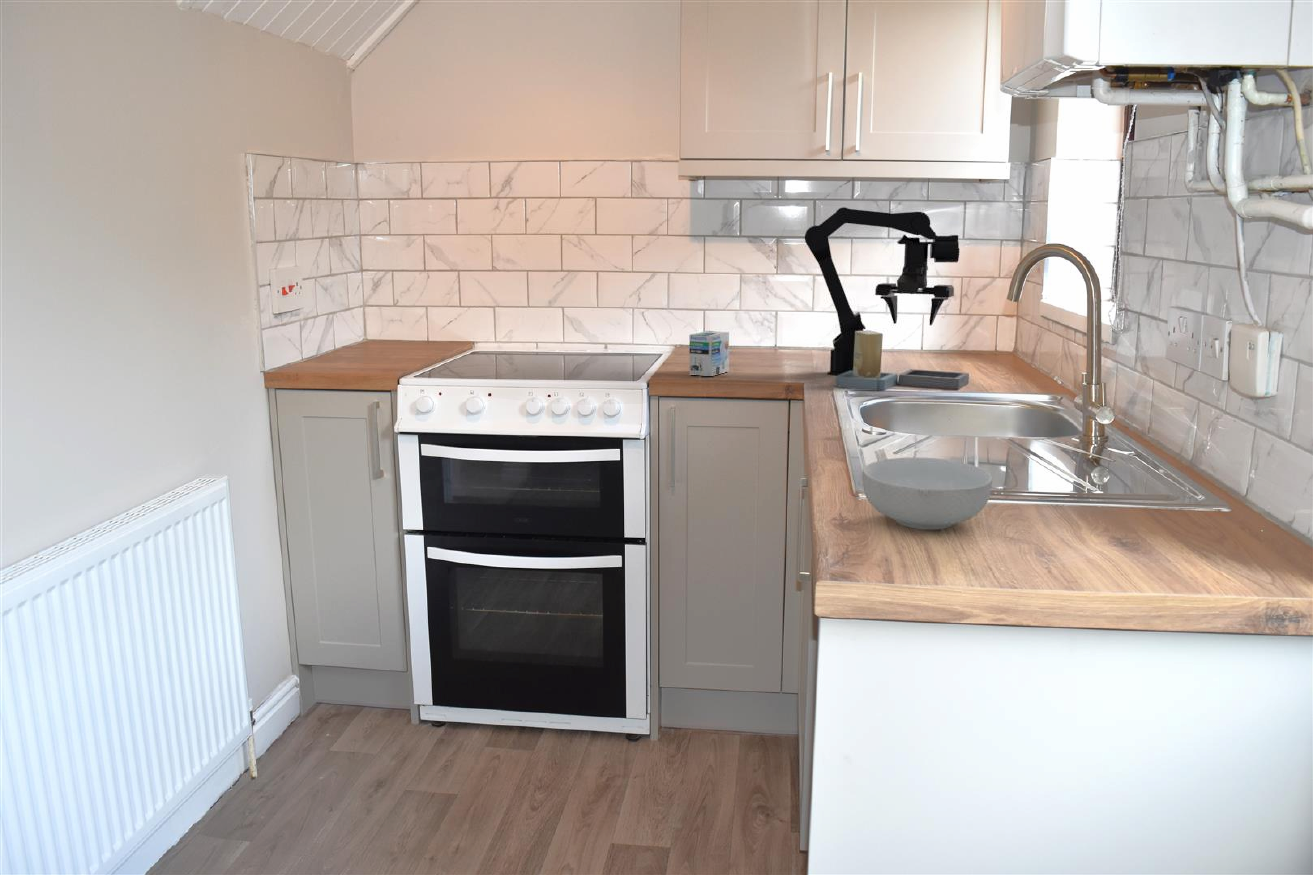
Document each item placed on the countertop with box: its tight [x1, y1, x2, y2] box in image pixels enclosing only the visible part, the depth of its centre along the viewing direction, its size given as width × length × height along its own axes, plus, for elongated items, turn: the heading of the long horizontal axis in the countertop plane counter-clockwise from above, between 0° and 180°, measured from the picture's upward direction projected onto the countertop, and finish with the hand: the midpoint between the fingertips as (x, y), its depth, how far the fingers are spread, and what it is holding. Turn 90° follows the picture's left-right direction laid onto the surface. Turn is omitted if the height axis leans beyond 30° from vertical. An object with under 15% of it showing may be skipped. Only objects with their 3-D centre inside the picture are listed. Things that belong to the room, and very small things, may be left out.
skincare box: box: [853, 329, 884, 379], centre depth 251 cm, size 6×4×12 cm
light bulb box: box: [689, 330, 730, 376], centre depth 270 cm, size 11×7×11 cm, turn 151°
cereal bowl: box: [862, 457, 993, 531], centre depth 141 cm, size 17×17×7 cm
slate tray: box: [834, 371, 899, 391], centre depth 252 cm, size 12×12×2 cm
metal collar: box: [897, 368, 970, 391], centre depth 253 cm, size 14×10×2 cm
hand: (912, 324), depth 265 cm, fingers open, 9 cm apart
